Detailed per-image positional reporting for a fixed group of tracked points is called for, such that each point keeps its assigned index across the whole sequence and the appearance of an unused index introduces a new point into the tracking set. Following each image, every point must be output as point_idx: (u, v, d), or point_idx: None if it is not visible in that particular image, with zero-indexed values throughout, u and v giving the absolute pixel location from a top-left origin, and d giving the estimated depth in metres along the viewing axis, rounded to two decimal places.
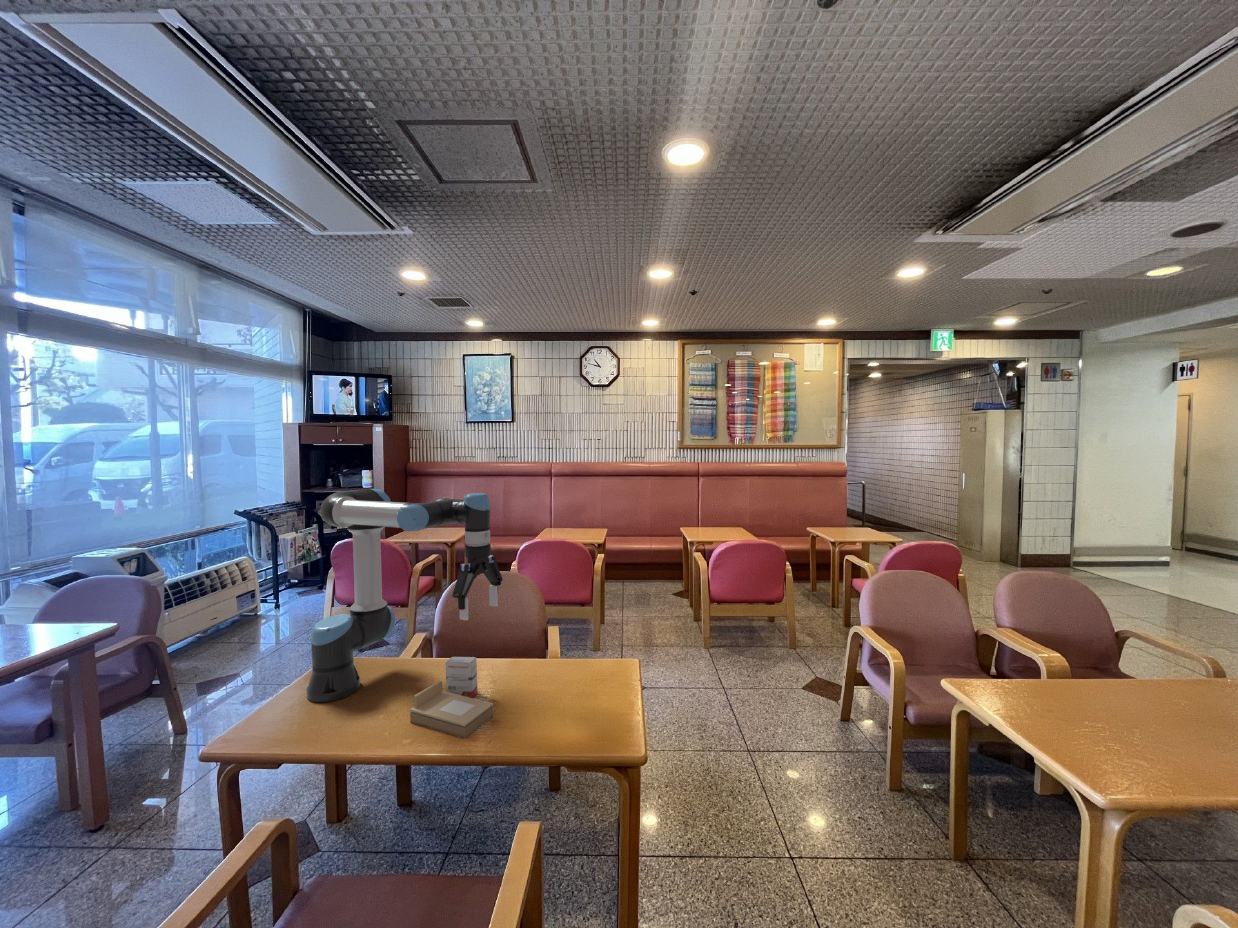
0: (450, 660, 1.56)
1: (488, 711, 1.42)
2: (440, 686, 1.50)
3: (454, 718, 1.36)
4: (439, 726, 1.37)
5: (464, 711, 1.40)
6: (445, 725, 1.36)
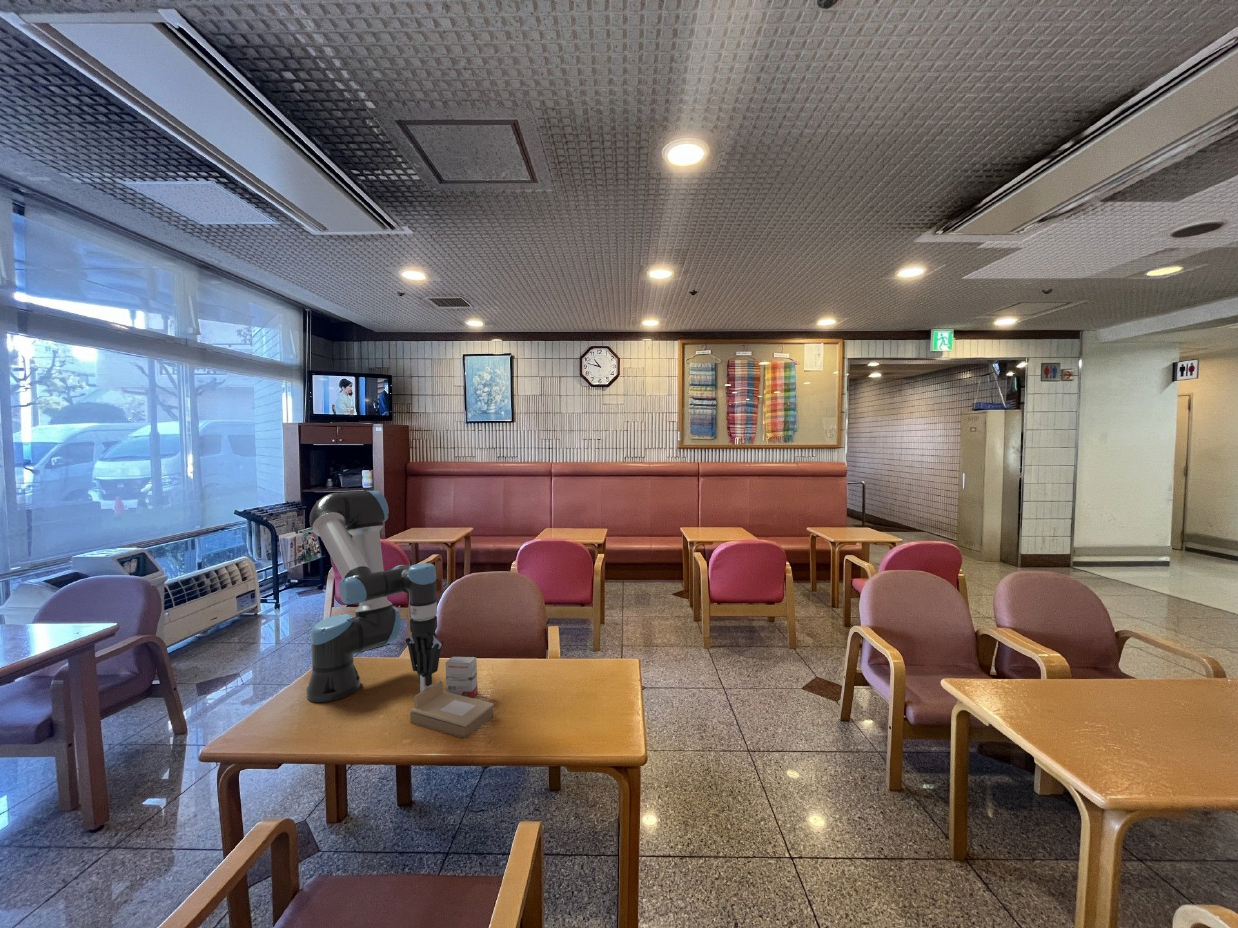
0: (450, 660, 1.56)
1: (488, 711, 1.42)
2: (441, 686, 1.50)
3: (455, 718, 1.36)
4: (439, 726, 1.37)
5: (464, 711, 1.40)
6: (445, 725, 1.36)
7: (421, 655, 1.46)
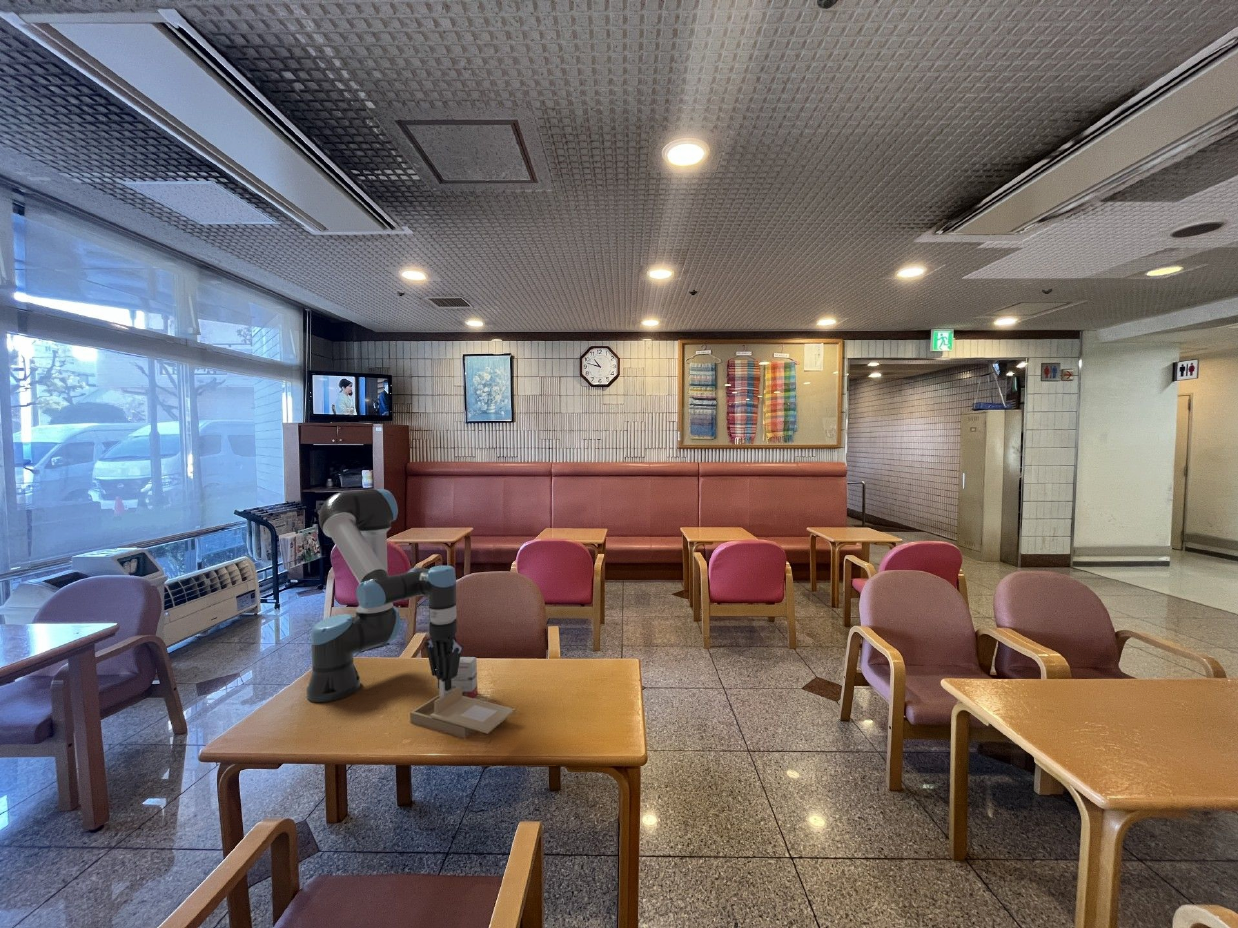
0: None
1: None
2: (460, 691, 1.47)
3: (476, 724, 1.33)
4: (439, 726, 1.37)
5: (485, 717, 1.37)
6: (445, 725, 1.36)
7: (440, 659, 1.43)
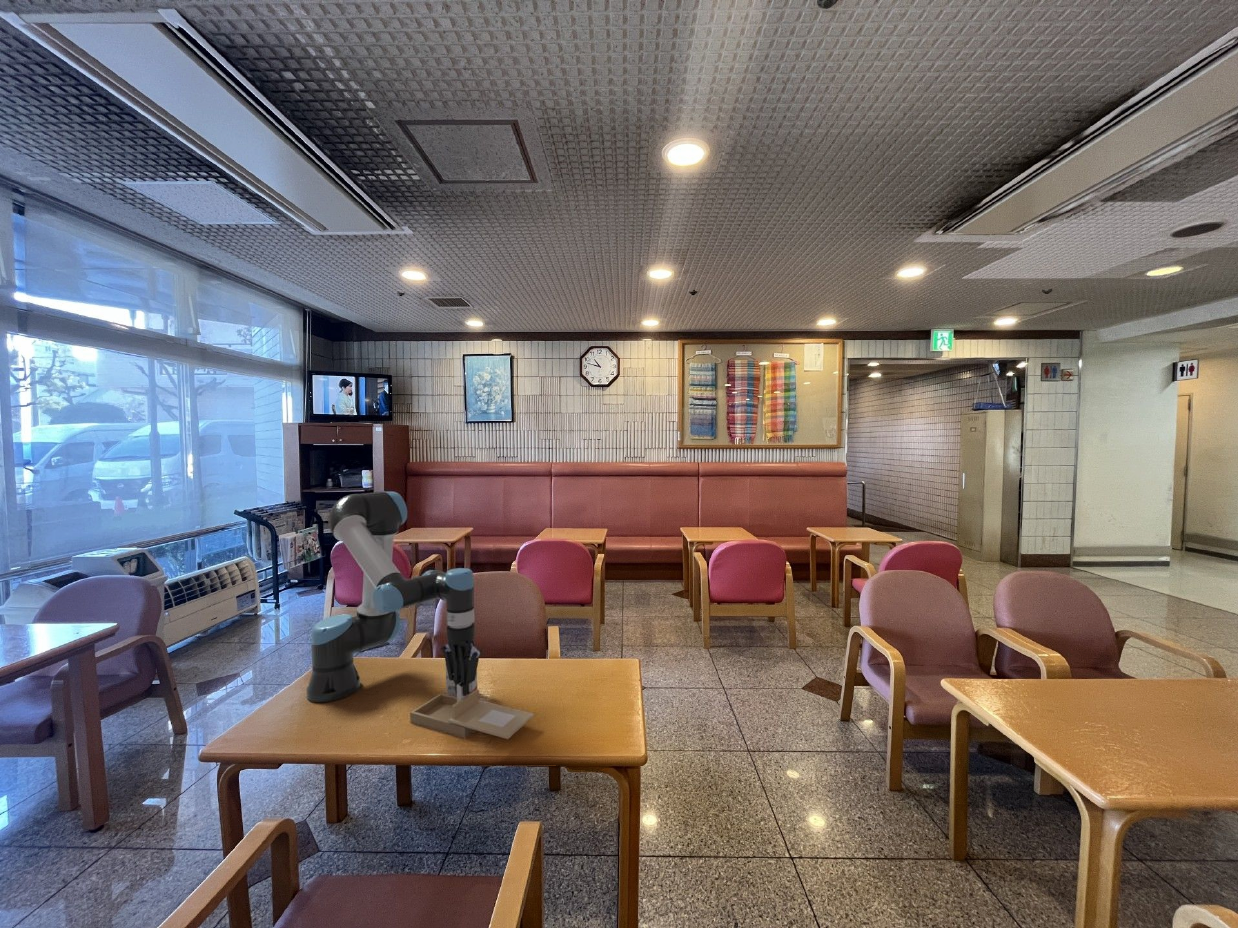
0: None
1: None
2: (477, 695, 1.45)
3: (496, 730, 1.31)
4: (439, 726, 1.37)
5: (505, 722, 1.34)
6: (445, 725, 1.36)
7: (458, 664, 1.41)
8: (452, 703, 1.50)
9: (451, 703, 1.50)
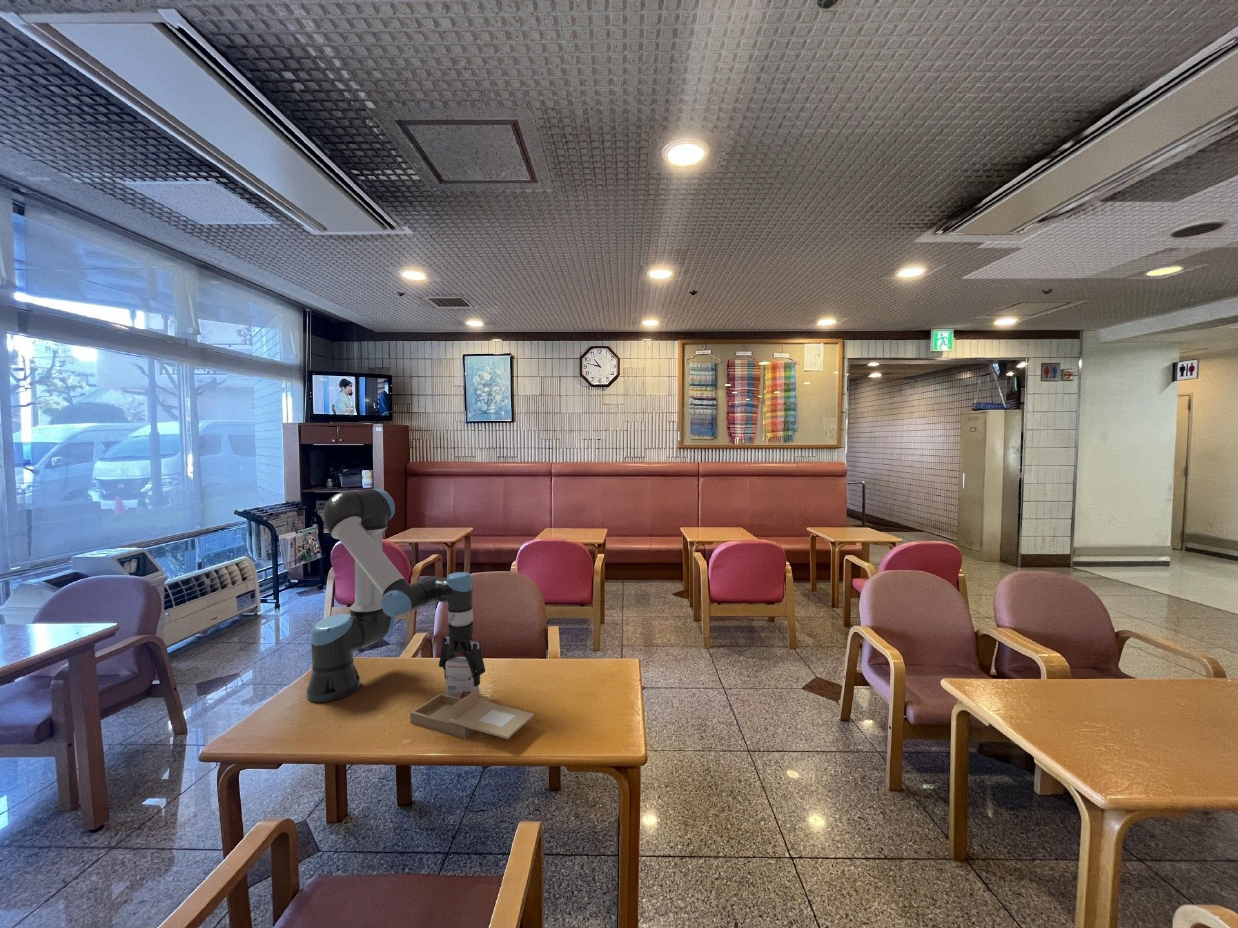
0: (450, 660, 1.56)
1: None
2: (477, 695, 1.45)
3: (496, 730, 1.31)
4: (439, 726, 1.37)
5: (505, 722, 1.34)
6: (445, 725, 1.36)
7: (452, 656, 1.57)
8: (452, 703, 1.50)
9: (451, 703, 1.50)
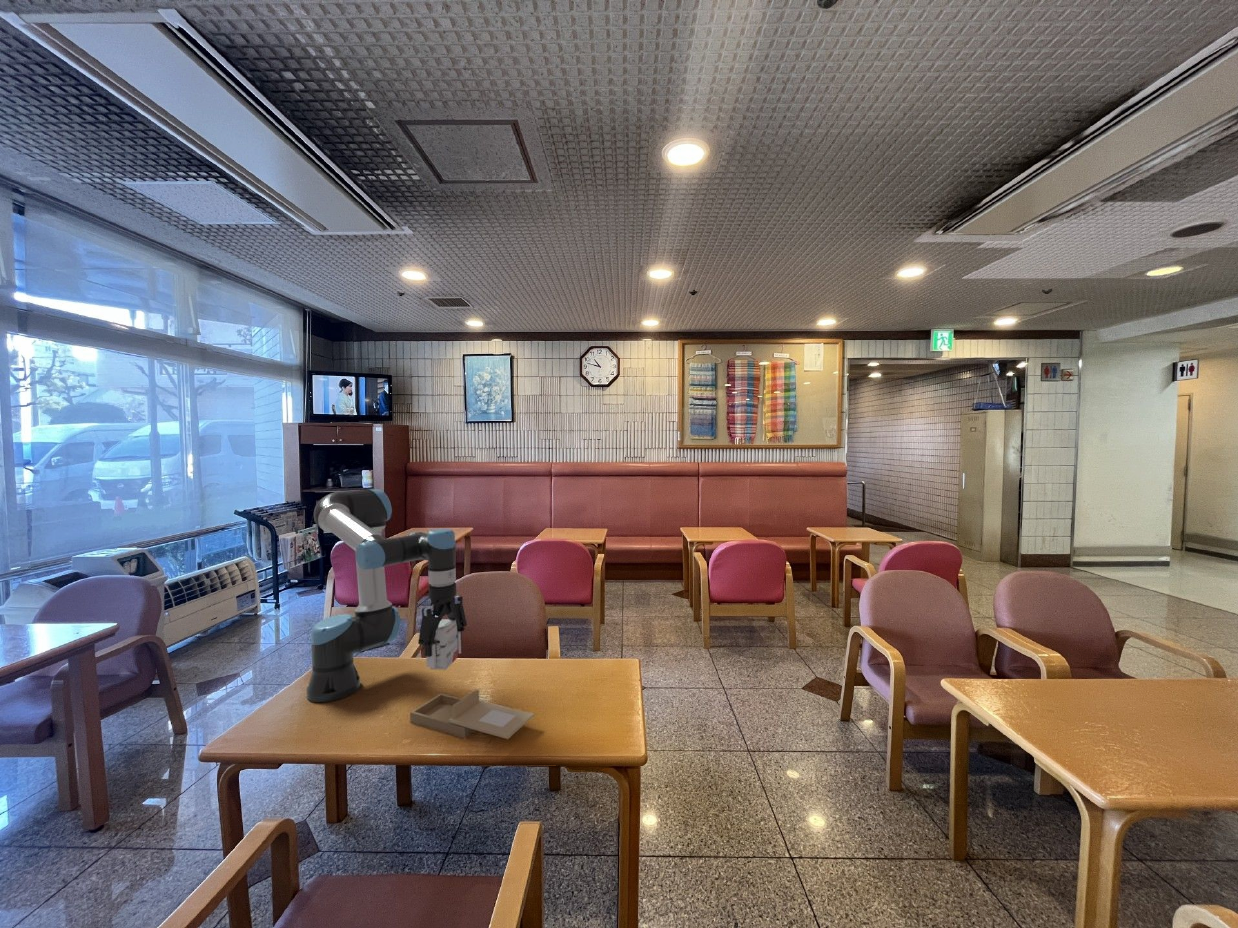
0: (441, 627, 1.40)
1: None
2: (477, 695, 1.45)
3: (496, 730, 1.31)
4: (439, 726, 1.37)
5: (505, 722, 1.34)
6: (445, 725, 1.36)
7: None
8: (452, 703, 1.50)
9: (451, 703, 1.50)
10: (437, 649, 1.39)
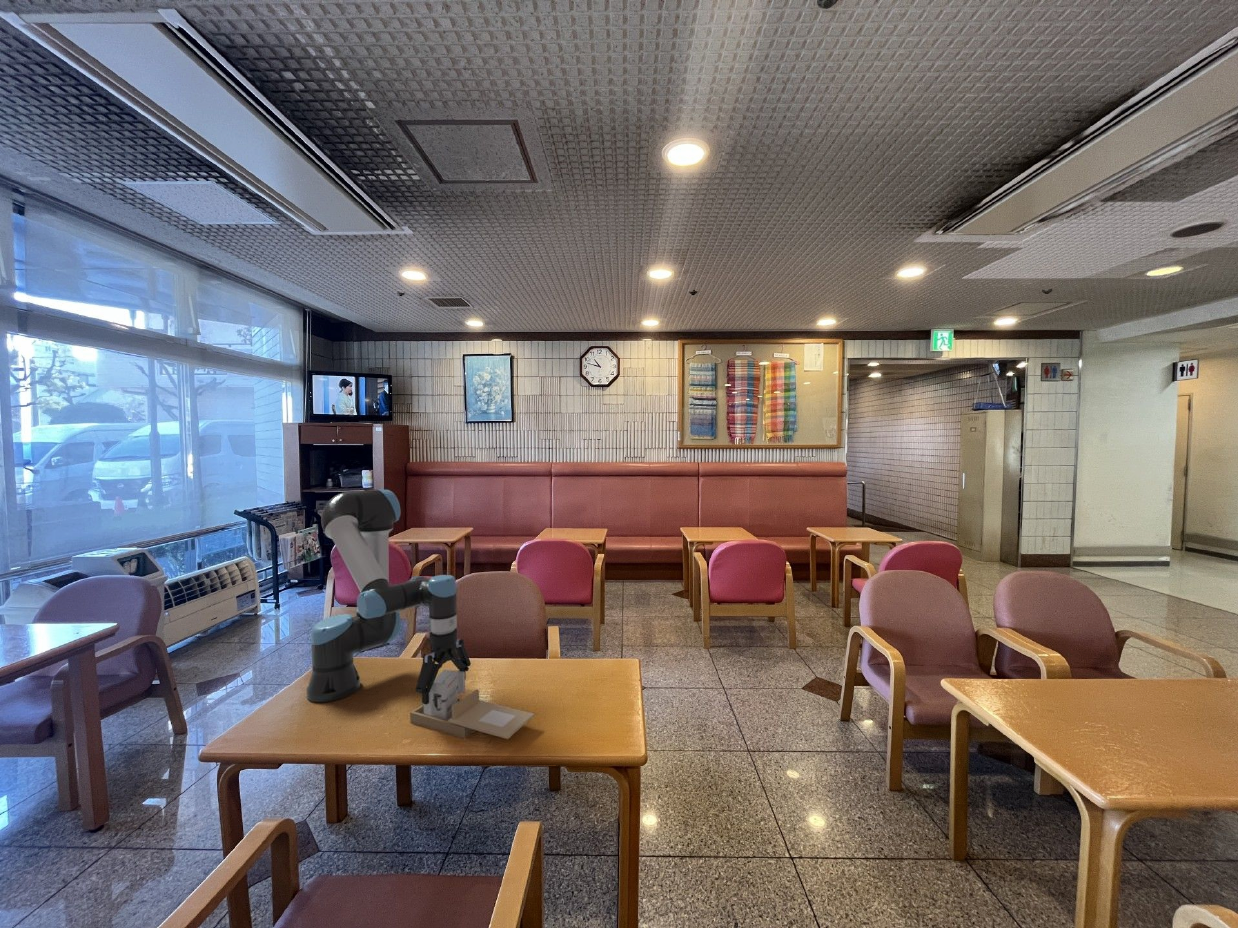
0: (442, 681, 1.40)
1: None
2: (477, 695, 1.45)
3: (496, 730, 1.31)
4: (439, 726, 1.37)
5: (505, 722, 1.34)
6: (445, 725, 1.36)
7: None
8: None
9: None
10: (438, 703, 1.39)
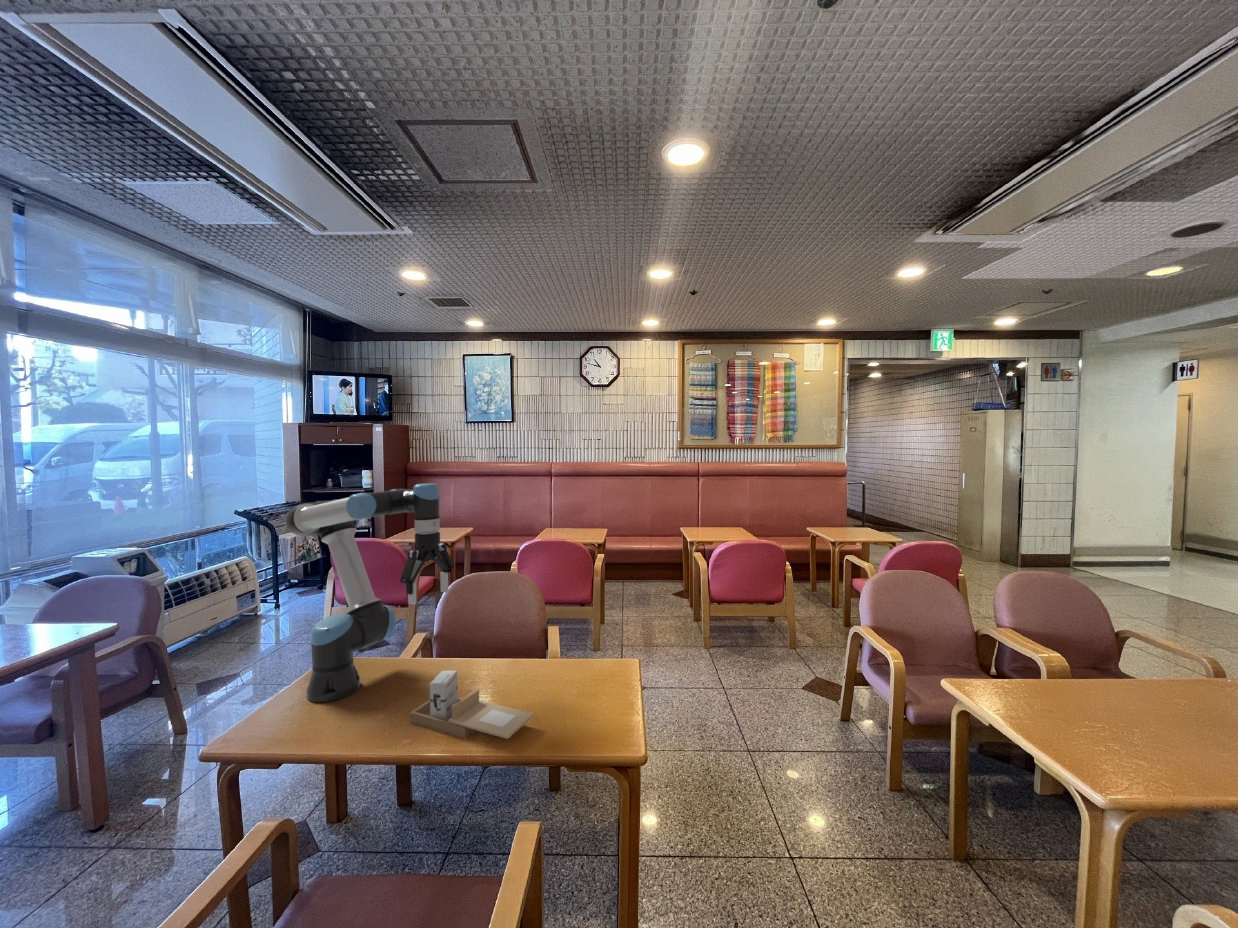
0: (441, 681, 1.40)
1: None
2: (477, 695, 1.45)
3: (496, 730, 1.31)
4: (439, 726, 1.37)
5: (505, 722, 1.34)
6: (445, 725, 1.36)
7: None
8: None
9: None
10: (438, 703, 1.39)
